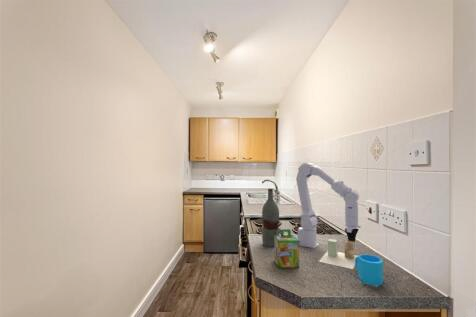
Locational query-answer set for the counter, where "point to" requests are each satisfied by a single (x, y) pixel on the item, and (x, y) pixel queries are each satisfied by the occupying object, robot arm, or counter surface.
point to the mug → (370, 269)
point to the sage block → (332, 247)
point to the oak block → (349, 249)
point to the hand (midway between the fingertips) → (351, 243)
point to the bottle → (270, 220)
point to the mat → (339, 260)
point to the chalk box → (286, 250)
